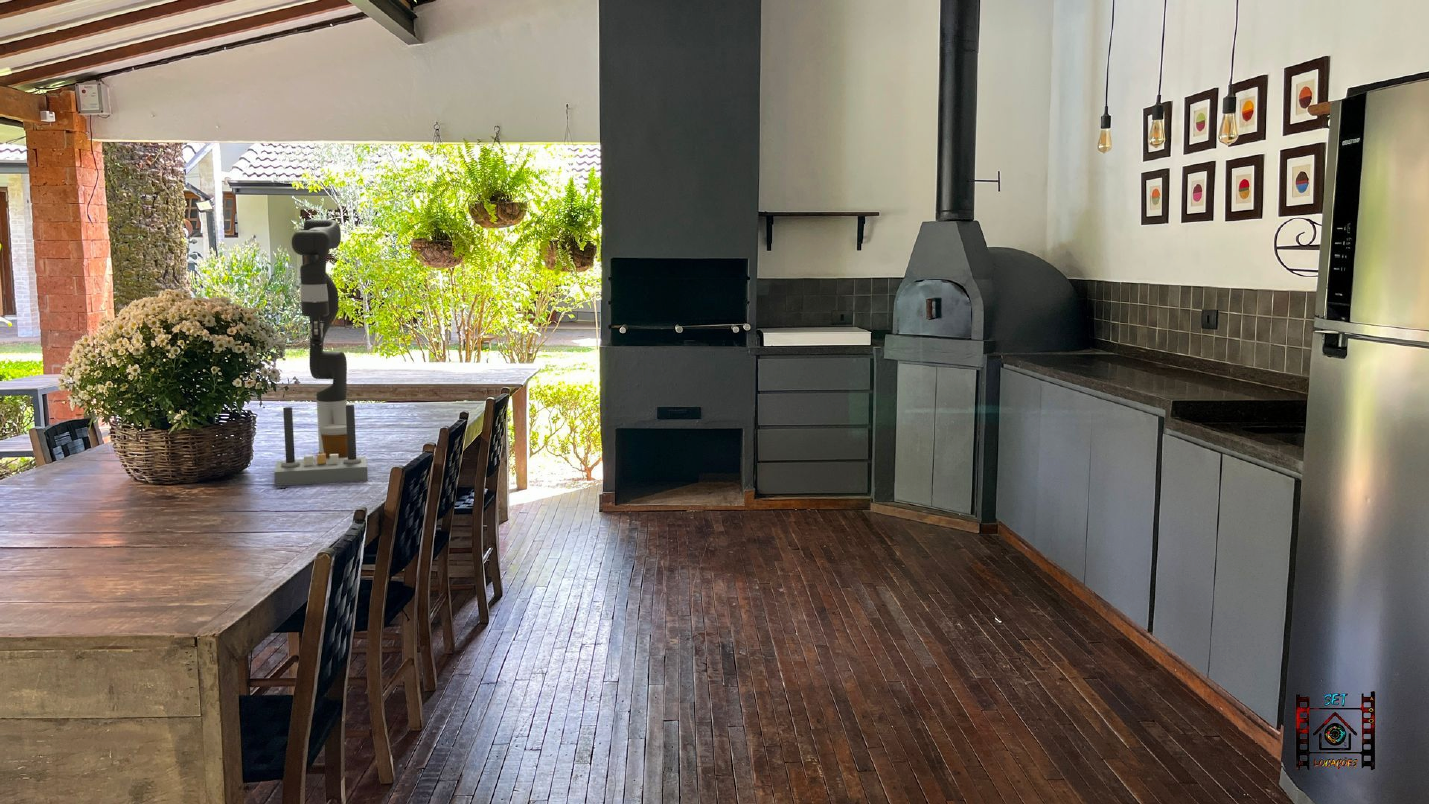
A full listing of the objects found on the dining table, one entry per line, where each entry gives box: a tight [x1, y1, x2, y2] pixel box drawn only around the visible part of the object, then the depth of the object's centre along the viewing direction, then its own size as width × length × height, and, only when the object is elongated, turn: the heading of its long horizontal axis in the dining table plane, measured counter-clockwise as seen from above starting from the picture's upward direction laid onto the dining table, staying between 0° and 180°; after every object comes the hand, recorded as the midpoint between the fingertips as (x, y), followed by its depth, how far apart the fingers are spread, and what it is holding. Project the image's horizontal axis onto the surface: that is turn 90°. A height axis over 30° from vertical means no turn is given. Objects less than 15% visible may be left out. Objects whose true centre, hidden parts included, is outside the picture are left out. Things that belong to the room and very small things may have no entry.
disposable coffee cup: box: [319, 424, 348, 459], centre depth 334 cm, size 10×10×12 cm
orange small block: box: [316, 453, 326, 464], centre depth 315 cm, size 2×2×3 cm
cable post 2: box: [343, 404, 361, 464], centre depth 317 cm, size 5×5×17 cm
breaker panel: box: [273, 454, 368, 487], centre depth 316 cm, size 16×25×7 cm, turn 109°
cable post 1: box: [281, 406, 300, 467], centre depth 312 cm, size 5×5×17 cm
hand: (317, 357), depth 320 cm, fingers closed
